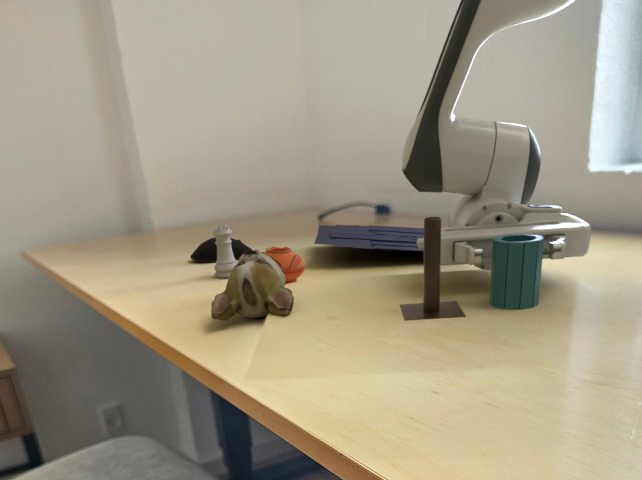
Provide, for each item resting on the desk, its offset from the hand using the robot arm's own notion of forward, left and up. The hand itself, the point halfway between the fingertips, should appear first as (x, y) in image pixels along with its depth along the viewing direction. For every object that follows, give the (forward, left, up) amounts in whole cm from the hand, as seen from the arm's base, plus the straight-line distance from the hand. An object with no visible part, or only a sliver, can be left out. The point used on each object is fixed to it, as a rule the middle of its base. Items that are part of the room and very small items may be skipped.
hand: (517, 254), depth 76 cm
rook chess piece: (+40, -33, -7) cm, 52 cm away
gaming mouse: (+42, -49, -7) cm, 65 cm away
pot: (+30, -21, -7) cm, 37 cm away
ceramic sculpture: (+32, -7, -7) cm, 33 cm away
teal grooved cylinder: (0, 0, -7) cm, 7 cm away
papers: (+10, -44, -7) cm, 45 cm away
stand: (+10, +1, -7) cm, 12 cm away
